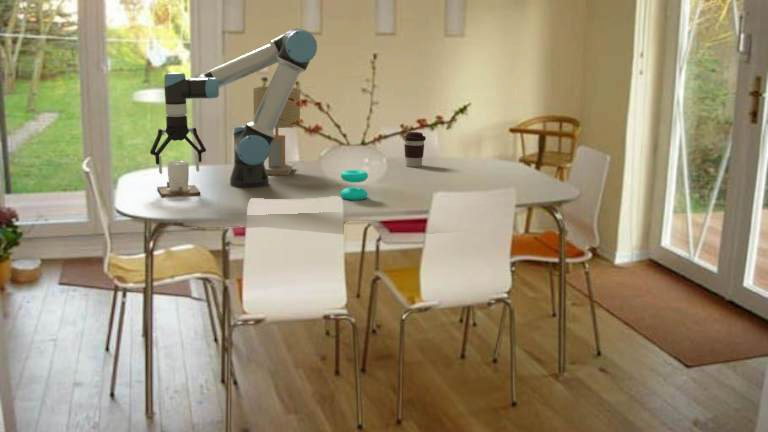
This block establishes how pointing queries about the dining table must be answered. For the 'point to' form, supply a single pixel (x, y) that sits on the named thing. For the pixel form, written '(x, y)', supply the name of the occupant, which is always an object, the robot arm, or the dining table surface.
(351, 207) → the dining table surface
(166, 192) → the pin board
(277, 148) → the desk lamp
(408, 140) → the coffee cup
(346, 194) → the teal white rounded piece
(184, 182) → the white cup
